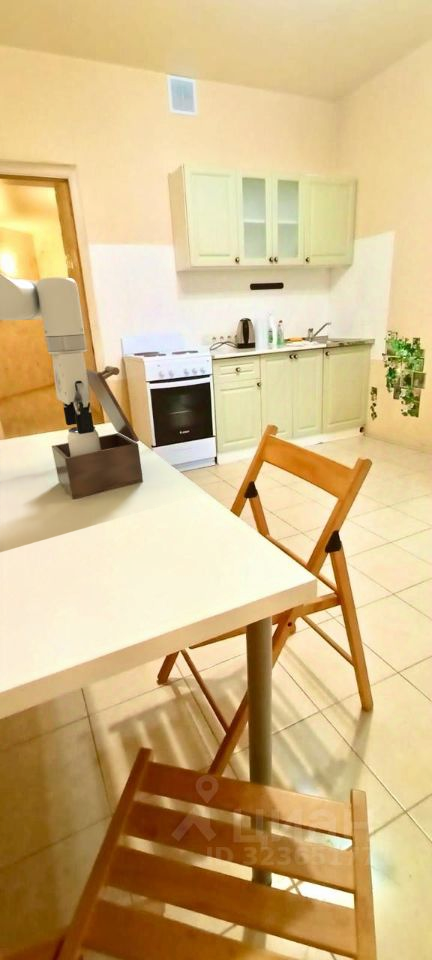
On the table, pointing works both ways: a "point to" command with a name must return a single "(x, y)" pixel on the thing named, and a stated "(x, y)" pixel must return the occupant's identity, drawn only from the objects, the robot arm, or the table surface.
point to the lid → (110, 401)
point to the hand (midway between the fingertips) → (79, 428)
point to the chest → (99, 466)
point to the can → (83, 442)
